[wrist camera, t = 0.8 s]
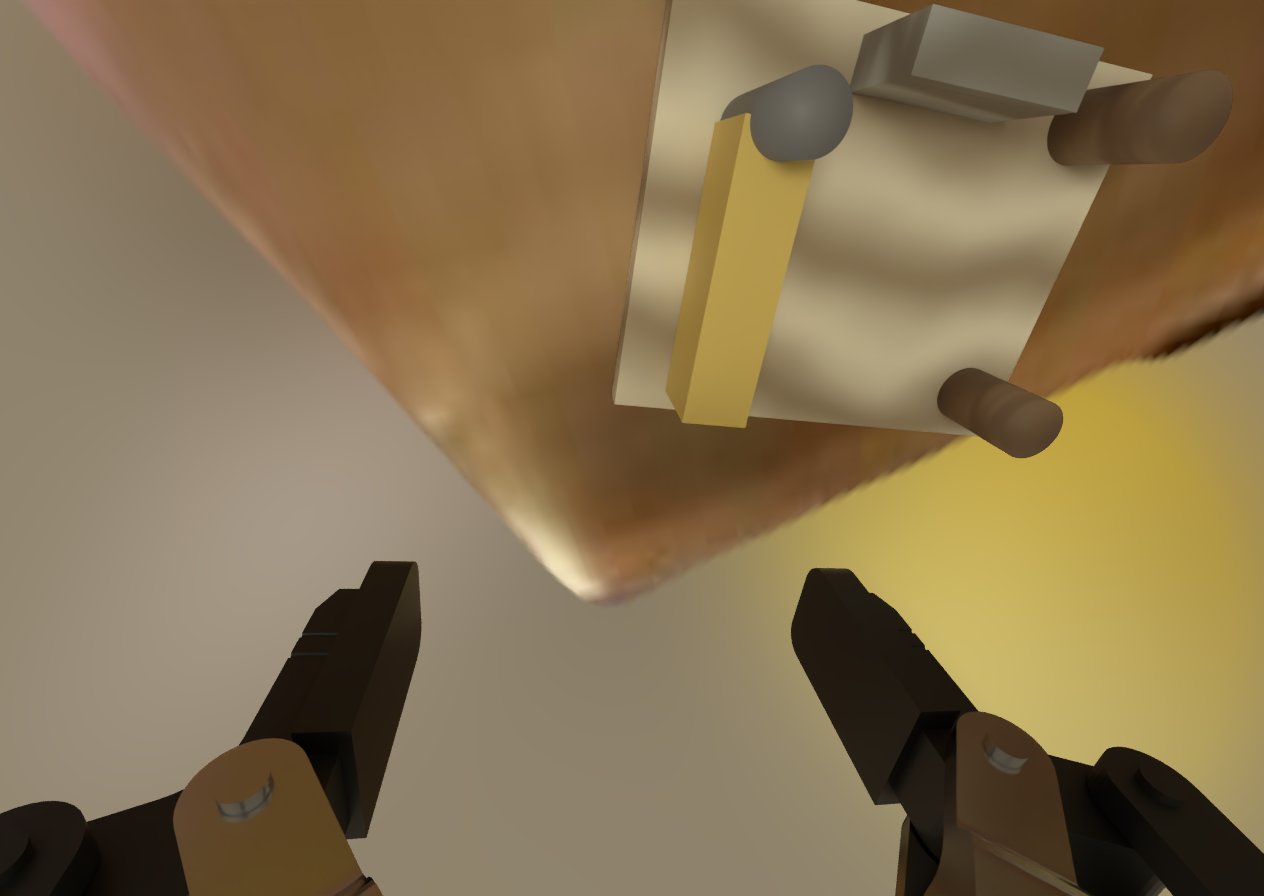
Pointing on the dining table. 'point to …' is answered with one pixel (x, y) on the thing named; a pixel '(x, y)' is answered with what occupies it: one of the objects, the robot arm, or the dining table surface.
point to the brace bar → (749, 237)
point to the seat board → (901, 204)
